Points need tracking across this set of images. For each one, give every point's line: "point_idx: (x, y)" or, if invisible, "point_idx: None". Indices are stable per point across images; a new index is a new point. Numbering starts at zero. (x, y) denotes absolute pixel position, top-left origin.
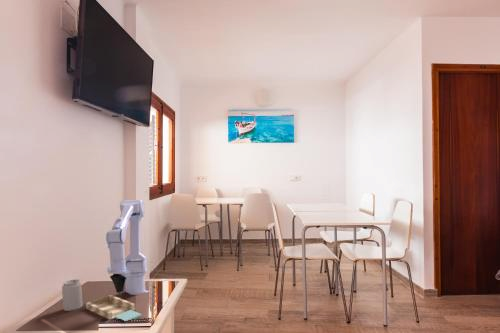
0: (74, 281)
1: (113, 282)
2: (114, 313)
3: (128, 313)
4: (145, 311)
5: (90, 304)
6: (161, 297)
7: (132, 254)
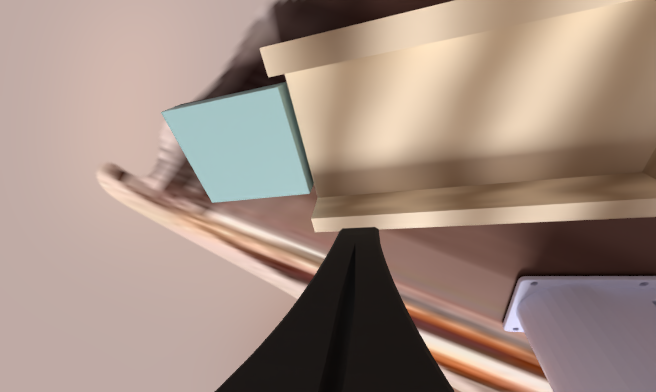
0: None
1: (404, 338)
2: (361, 112)
3: (262, 165)
4: (290, 229)
5: None
6: None
7: None
